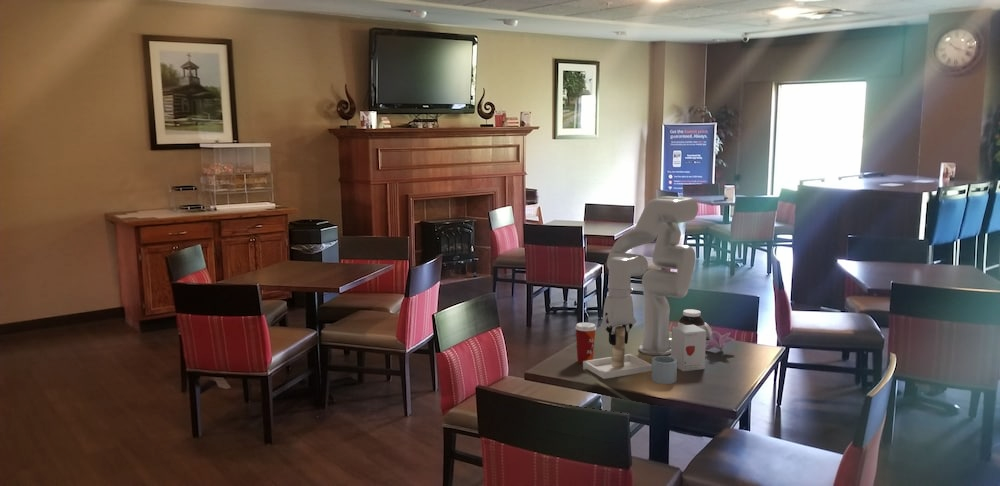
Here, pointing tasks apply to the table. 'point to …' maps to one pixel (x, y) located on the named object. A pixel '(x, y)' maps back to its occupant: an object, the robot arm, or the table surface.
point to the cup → (664, 369)
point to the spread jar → (694, 320)
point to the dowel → (618, 348)
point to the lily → (718, 340)
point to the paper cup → (585, 341)
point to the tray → (606, 370)
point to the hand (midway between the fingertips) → (618, 343)
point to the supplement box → (688, 347)
